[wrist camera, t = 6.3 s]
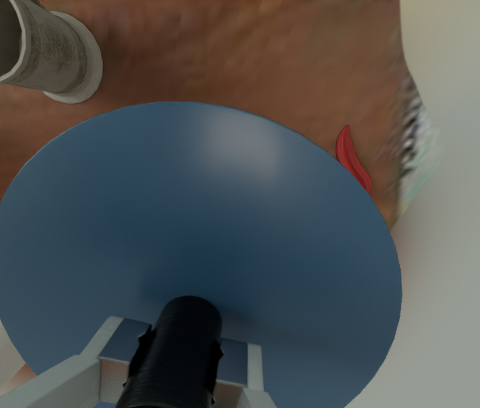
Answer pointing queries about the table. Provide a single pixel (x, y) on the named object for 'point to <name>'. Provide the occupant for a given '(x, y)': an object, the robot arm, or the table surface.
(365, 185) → the cayenne pepper
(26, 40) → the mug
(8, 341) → the milk carton
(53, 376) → the robot arm
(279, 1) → the table surface
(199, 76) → the table surface
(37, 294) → the lid
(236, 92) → the table surface
